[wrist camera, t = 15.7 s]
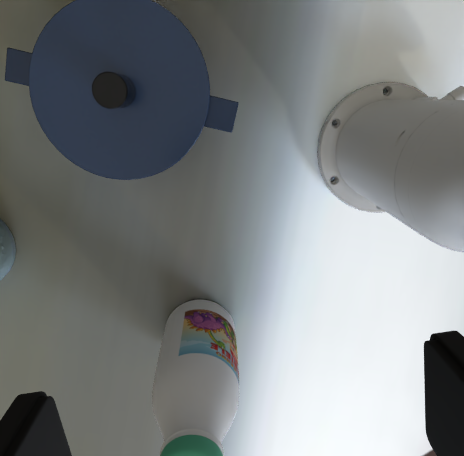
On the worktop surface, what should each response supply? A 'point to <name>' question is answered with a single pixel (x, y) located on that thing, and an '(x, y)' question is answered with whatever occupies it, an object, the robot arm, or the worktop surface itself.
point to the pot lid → (119, 87)
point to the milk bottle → (196, 380)
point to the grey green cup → (6, 249)
